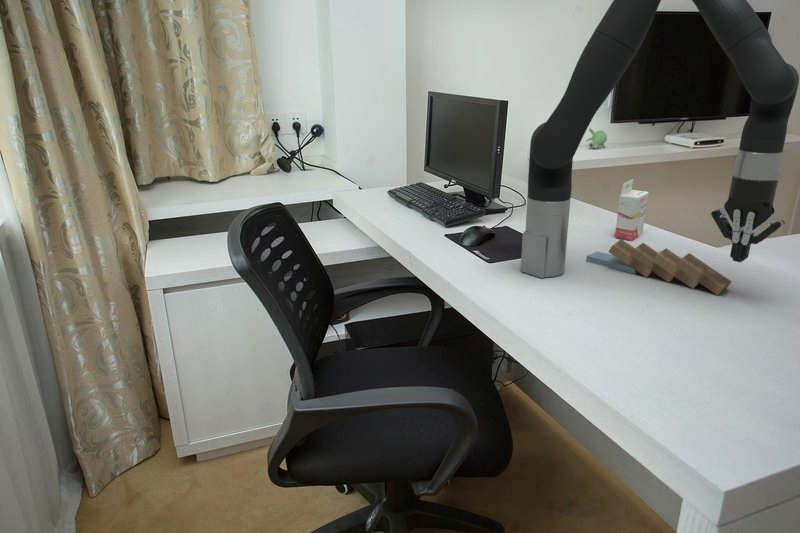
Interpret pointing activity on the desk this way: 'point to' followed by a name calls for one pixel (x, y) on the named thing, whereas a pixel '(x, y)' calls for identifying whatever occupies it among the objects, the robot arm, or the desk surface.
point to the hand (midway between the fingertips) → (738, 260)
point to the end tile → (609, 261)
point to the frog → (597, 139)
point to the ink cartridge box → (631, 212)
